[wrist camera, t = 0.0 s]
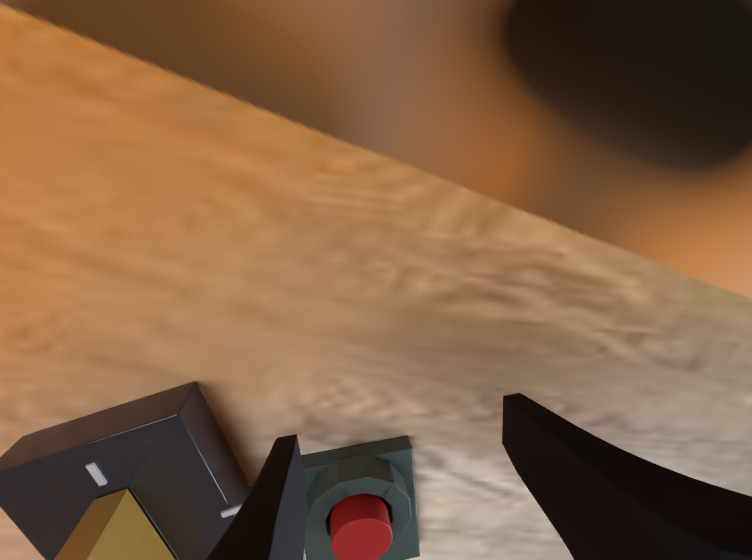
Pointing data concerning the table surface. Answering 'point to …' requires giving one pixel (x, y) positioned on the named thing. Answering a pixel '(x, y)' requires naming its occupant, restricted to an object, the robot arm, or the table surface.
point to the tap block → (128, 473)
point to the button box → (357, 476)
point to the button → (360, 528)
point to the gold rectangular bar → (114, 533)
